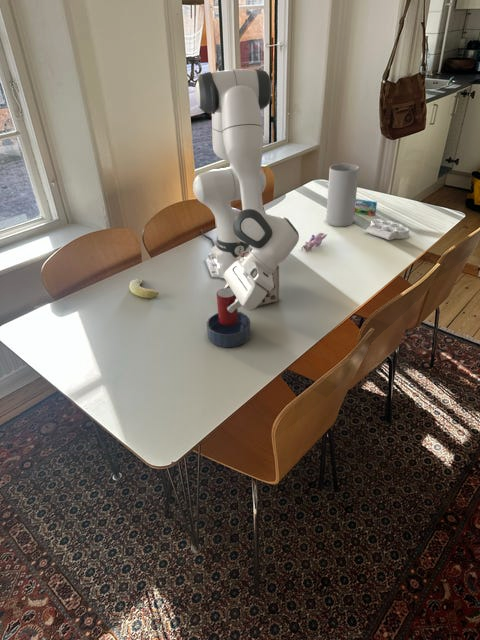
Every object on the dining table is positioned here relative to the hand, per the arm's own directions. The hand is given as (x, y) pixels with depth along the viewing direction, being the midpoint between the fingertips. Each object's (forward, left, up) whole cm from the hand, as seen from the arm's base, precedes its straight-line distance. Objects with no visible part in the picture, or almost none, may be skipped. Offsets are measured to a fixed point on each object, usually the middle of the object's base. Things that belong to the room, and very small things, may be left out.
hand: (225, 304), depth 134 cm
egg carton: (-40, +92, -12) cm, 101 cm away
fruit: (-40, -16, -12) cm, 44 cm away
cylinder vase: (-61, +82, -12) cm, 103 cm away
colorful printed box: (-65, +98, -12) cm, 118 cm away
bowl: (0, +1, -11) cm, 11 cm away
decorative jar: (-17, +18, -12) cm, 27 cm away
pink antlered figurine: (-44, +58, -12) cm, 74 cm away
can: (0, +1, -6) cm, 6 cm away
